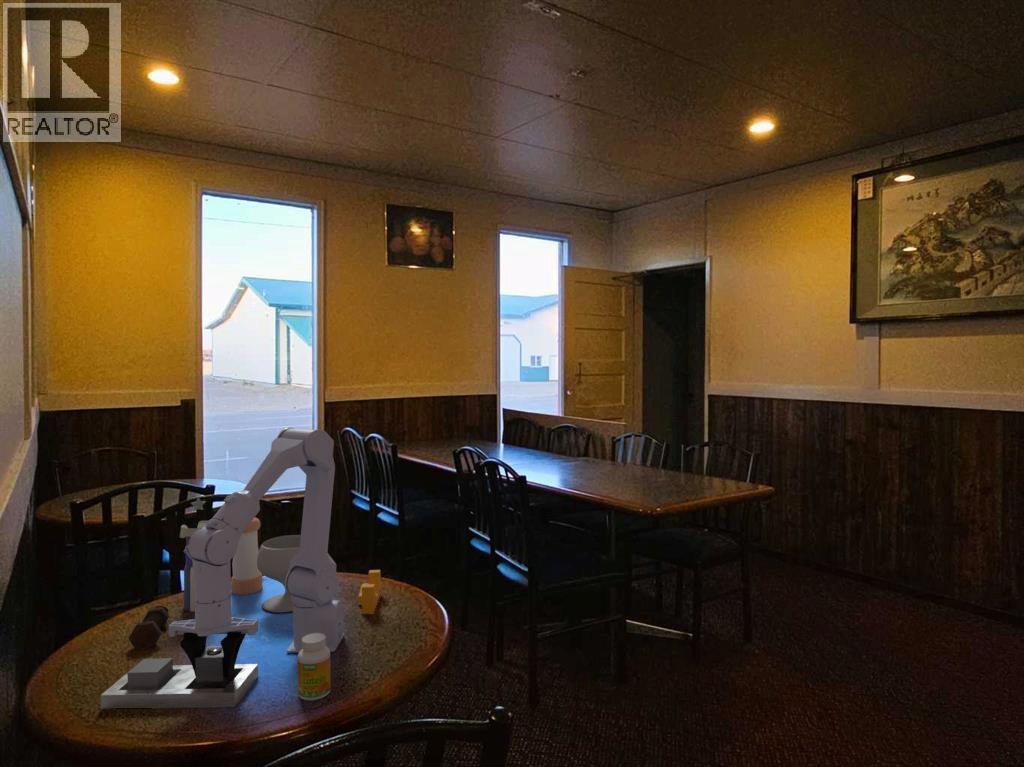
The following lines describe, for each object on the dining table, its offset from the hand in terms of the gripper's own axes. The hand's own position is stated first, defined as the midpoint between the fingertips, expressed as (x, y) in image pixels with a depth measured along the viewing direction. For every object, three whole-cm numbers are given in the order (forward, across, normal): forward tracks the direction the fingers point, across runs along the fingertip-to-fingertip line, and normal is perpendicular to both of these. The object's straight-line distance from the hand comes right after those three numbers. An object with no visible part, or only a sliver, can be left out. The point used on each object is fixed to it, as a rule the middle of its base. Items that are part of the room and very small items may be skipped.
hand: (214, 674), depth 109 cm
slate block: (+3, -11, 0) cm, 11 cm away
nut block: (+2, 0, 0) cm, 2 cm away
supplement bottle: (+3, +18, -1) cm, 18 cm away
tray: (+3, -6, 0) cm, 6 cm away
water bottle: (+3, -22, +40) cm, 46 cm away
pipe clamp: (+3, +18, +39) cm, 43 cm away
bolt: (+3, -24, +25) cm, 35 cm away
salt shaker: (+3, -14, +50) cm, 52 cm away
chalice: (+3, 0, +40) cm, 40 cm away
